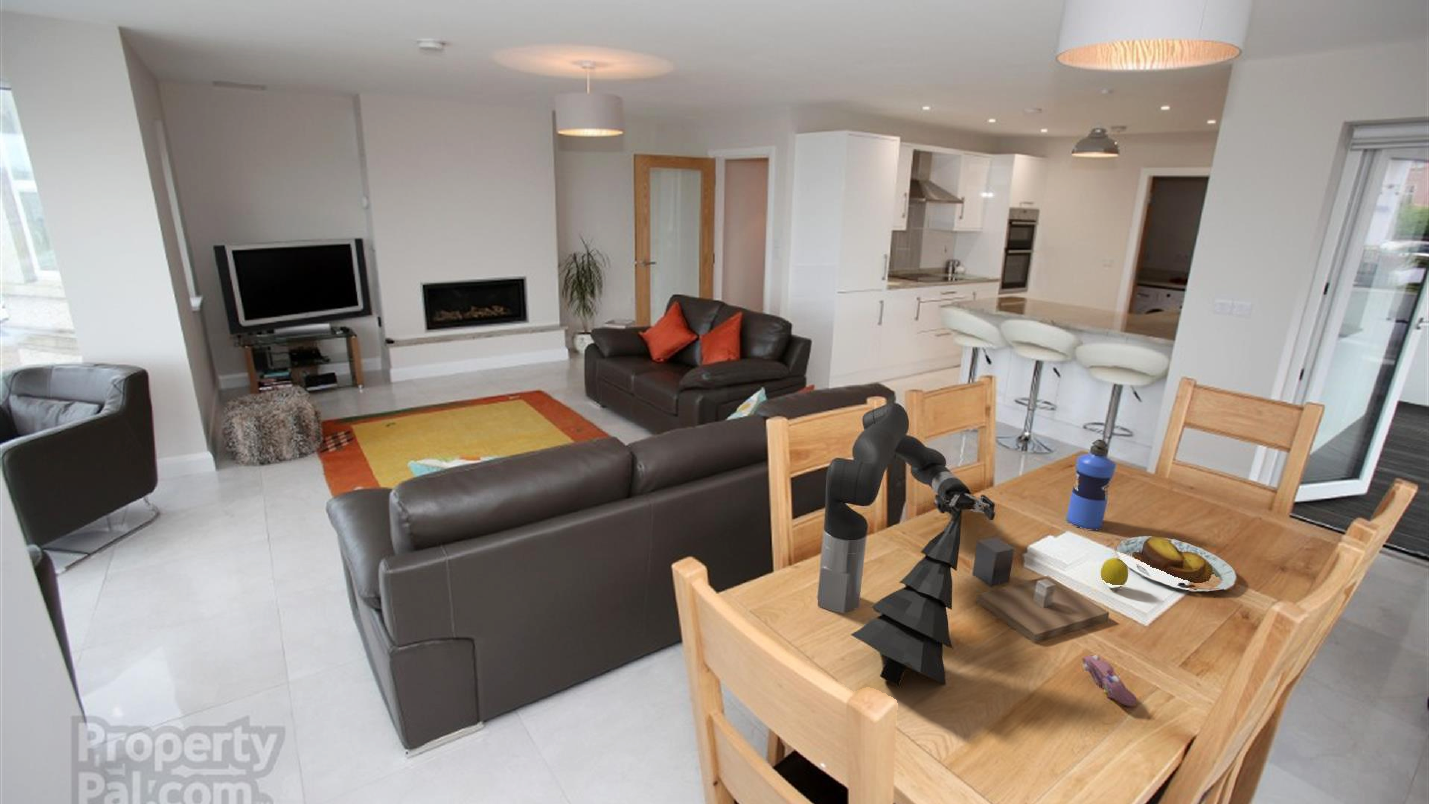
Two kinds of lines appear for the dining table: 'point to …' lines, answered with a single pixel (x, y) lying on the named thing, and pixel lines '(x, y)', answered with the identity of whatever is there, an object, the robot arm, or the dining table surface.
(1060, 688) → the dining table surface
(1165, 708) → the dining table surface
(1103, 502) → the water bottle
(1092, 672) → the video game controller
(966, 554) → the dining table surface
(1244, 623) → the dining table surface
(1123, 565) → the lemon
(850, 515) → the robot arm
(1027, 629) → the flat brown board
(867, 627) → the decorative tree
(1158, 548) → the food on plate
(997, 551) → the dark grey box
